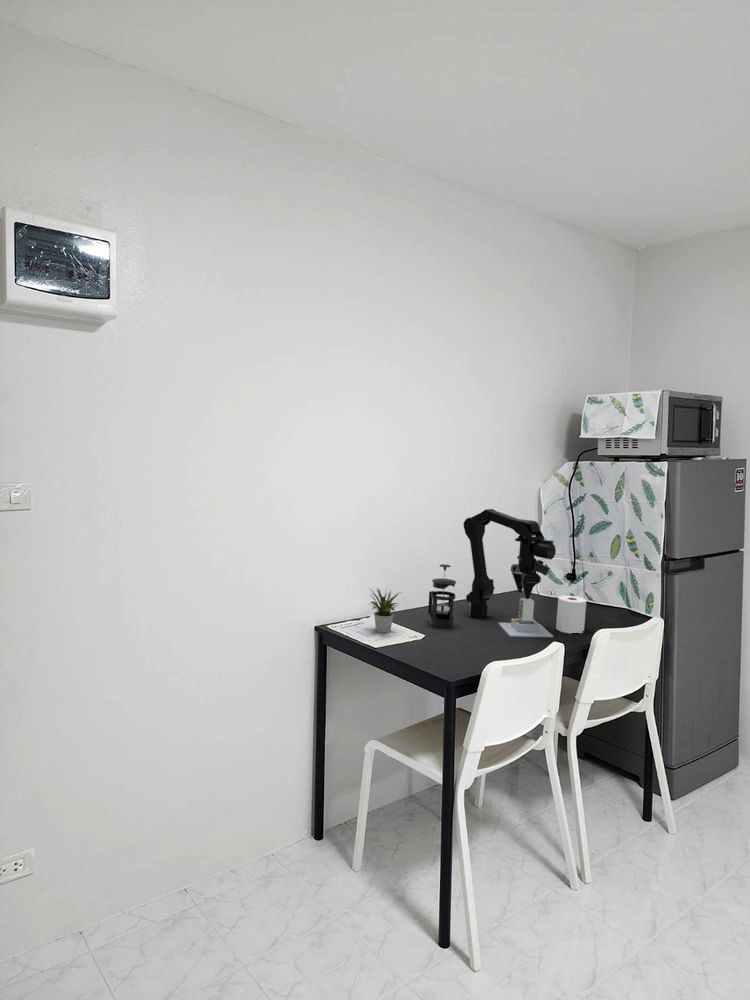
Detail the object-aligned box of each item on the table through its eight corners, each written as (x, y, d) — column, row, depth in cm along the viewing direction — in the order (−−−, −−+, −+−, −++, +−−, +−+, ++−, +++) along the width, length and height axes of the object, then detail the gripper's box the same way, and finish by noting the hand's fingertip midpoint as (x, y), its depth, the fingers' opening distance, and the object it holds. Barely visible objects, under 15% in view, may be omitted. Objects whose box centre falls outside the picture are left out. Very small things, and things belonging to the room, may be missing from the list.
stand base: (509, 636, 255) (510, 625, 255) (498, 623, 271) (499, 613, 270) (553, 637, 256) (553, 626, 256) (539, 624, 272) (539, 614, 272)
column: (520, 620, 261) (521, 600, 260) (517, 617, 265) (518, 598, 264) (532, 621, 261) (534, 601, 261) (529, 618, 265) (530, 598, 265)
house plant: (353, 632, 251) (355, 587, 249) (368, 622, 264) (370, 579, 262) (391, 638, 246) (393, 592, 244) (404, 628, 258) (406, 584, 257)
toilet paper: (585, 635, 261) (588, 603, 260) (556, 632, 263) (559, 600, 262) (582, 627, 271) (585, 596, 270) (554, 625, 273) (557, 594, 272)
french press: (460, 626, 265) (464, 566, 262) (443, 630, 258) (447, 568, 256) (437, 619, 273) (440, 560, 271) (420, 623, 267) (423, 563, 264)
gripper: (556, 560, 254) (552, 603, 256) (540, 550, 272) (536, 590, 274) (526, 559, 253) (522, 602, 255) (511, 549, 271) (508, 589, 273)
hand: (523, 595), depth 264 cm, fingers open, 9 cm apart
